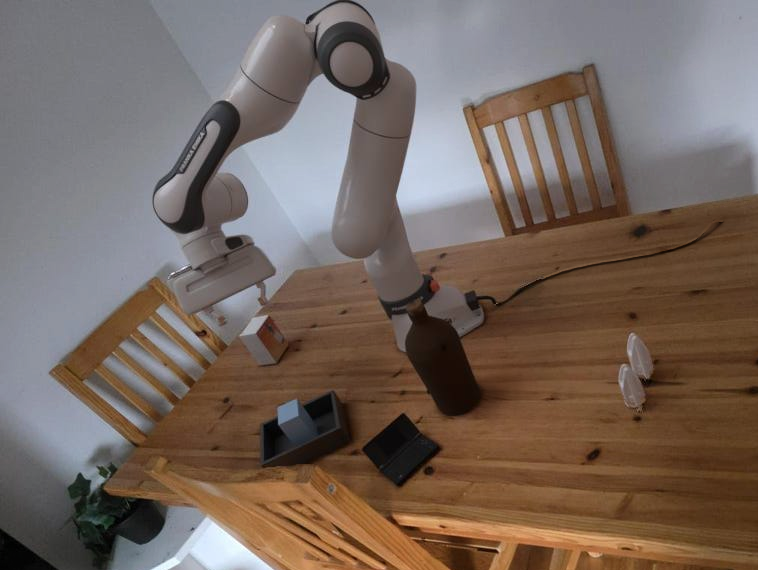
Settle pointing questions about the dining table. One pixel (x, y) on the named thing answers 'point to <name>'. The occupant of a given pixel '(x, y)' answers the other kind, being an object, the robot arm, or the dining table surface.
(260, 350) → the small box
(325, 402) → the tote
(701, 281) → the dining table surface
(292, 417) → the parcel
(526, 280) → the dining table surface
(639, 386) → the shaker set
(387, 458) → the handheld gaming console
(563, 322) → the dining table surface
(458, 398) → the olive oil
